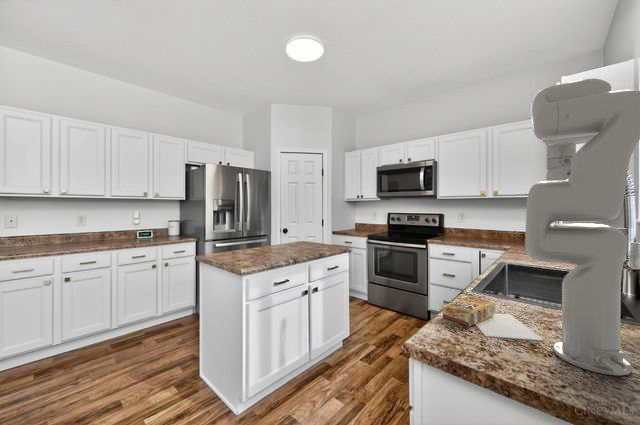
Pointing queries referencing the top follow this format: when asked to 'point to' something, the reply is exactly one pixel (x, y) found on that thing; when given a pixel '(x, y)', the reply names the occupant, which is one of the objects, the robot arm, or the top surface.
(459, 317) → the candy box
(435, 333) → the top surface
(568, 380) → the top surface
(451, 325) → the top surface
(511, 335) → the baking mat
